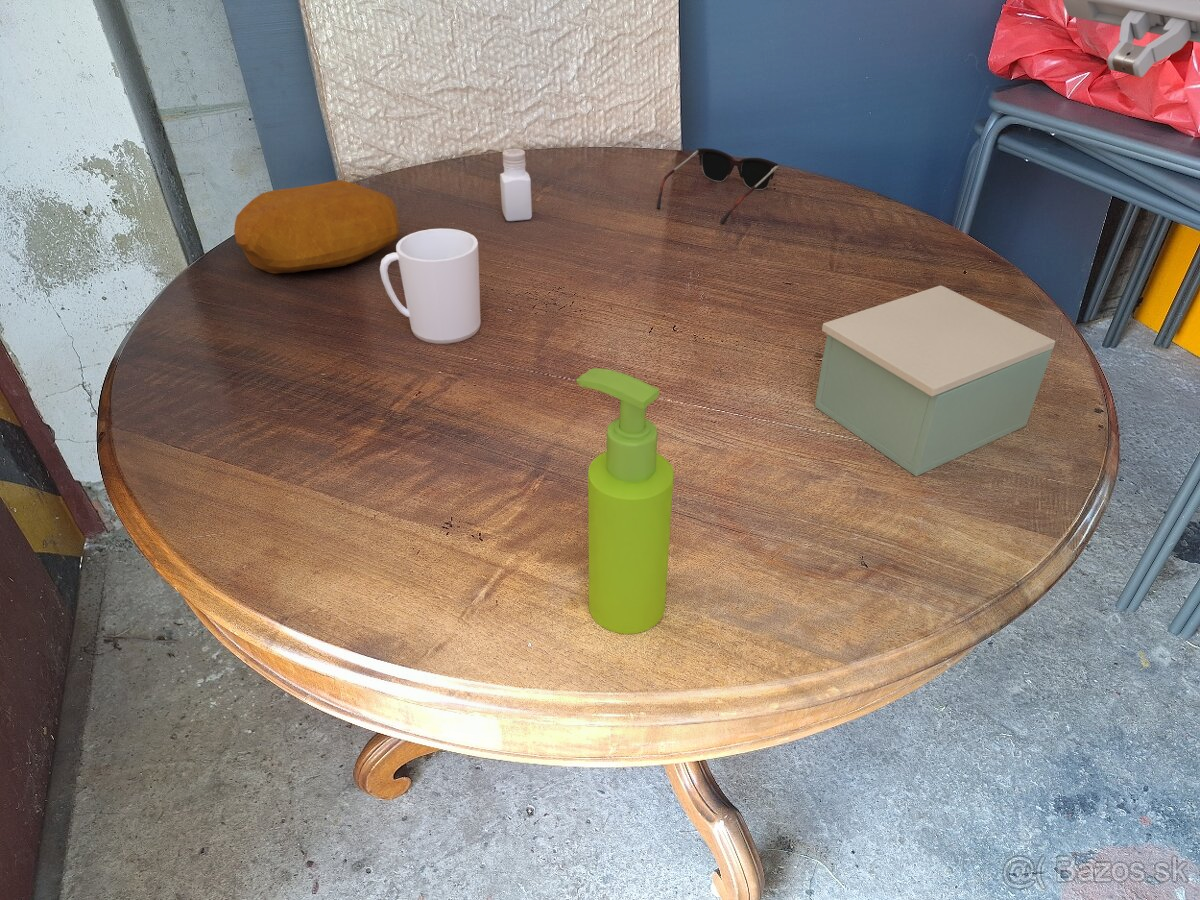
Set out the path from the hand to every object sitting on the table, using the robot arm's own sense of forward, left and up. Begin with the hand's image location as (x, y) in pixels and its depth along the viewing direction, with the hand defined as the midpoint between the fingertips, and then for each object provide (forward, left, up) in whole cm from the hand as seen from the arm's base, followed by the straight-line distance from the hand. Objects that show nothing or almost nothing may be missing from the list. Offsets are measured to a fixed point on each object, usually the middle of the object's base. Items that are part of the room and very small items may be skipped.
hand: (1123, 69), depth 77 cm
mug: (+63, +13, -32) cm, 72 cm away
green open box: (+9, +11, -31) cm, 35 cm away
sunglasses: (+44, -38, -32) cm, 66 cm away
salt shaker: (+69, -21, -32) cm, 79 cm away
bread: (+86, +2, -32) cm, 92 cm away
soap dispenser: (+28, +46, -32) cm, 63 cm away
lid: (+10, +12, -22) cm, 27 cm away
